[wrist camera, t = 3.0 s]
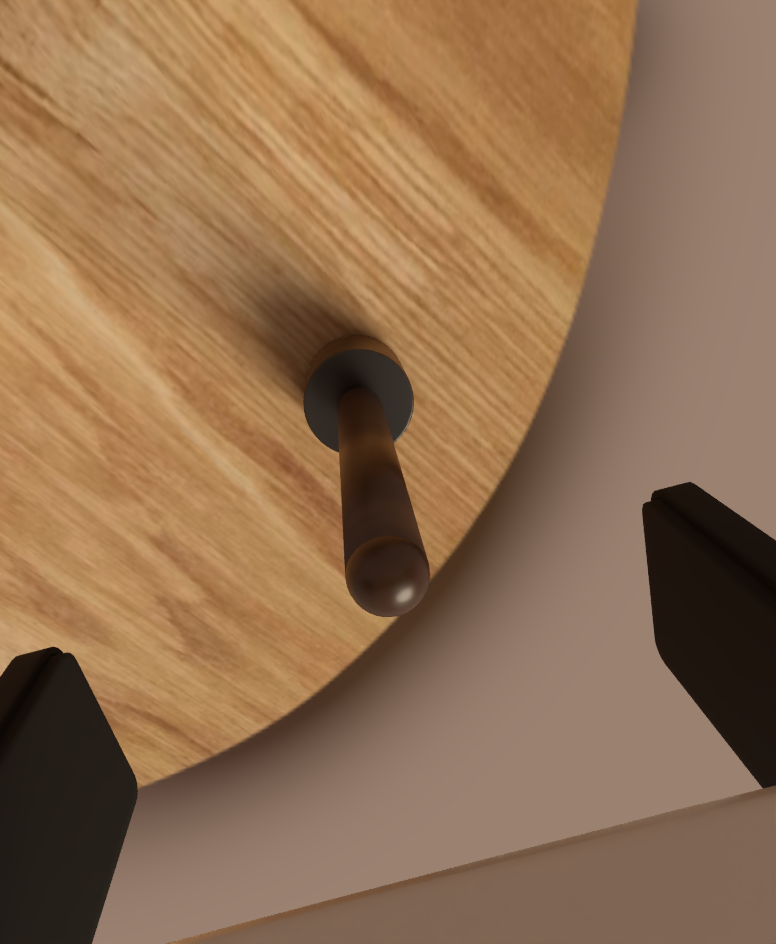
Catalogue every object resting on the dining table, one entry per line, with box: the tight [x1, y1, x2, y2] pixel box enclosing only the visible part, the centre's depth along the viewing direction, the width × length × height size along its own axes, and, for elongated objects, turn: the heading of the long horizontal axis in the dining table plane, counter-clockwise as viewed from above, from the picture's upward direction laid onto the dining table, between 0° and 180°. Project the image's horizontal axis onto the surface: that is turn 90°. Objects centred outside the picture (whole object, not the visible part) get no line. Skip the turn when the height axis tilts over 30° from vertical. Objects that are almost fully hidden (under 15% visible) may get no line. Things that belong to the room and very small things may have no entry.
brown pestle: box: [303, 335, 430, 617], centre depth 19 cm, size 4×4×16 cm
